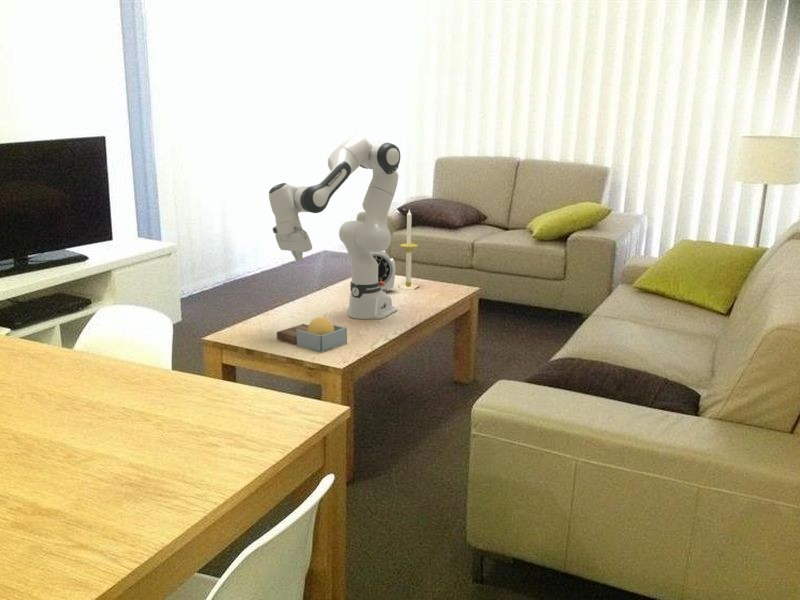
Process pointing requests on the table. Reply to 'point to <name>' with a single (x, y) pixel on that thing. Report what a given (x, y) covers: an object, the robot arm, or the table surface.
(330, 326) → the ball
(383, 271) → the alarm clock
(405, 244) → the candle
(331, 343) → the tray
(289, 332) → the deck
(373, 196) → the robot arm
